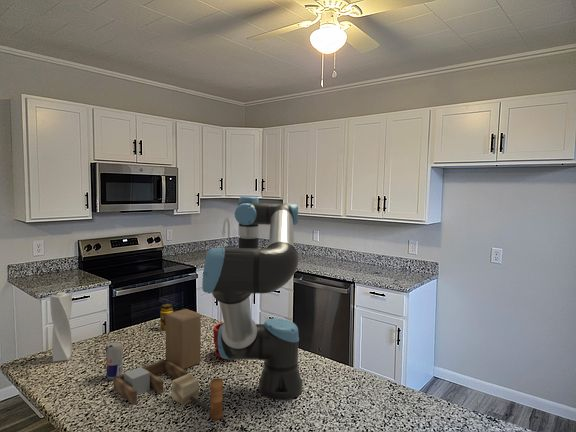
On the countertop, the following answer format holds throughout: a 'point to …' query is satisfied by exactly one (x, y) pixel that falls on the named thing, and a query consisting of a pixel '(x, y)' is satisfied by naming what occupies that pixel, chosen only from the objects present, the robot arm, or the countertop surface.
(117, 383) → the lane rack
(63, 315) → the skyscraper
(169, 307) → the condiment
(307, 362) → the countertop surface
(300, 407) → the countertop surface
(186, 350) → the wooden block
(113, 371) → the energy drink
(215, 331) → the plant pot
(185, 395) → the corded block
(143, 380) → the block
